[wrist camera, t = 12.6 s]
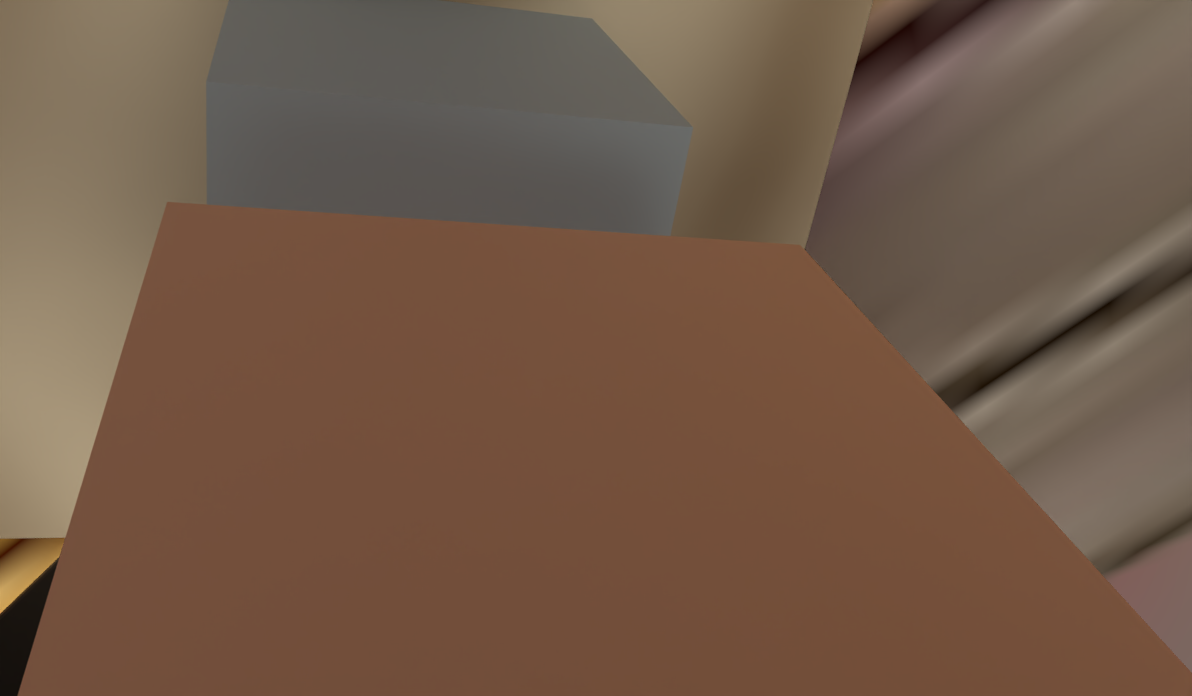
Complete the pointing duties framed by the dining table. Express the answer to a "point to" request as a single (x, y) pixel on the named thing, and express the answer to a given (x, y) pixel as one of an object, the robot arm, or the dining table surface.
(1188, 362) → the dining table surface
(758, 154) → the birch base
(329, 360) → the terracotta block
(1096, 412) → the dining table surface
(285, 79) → the gray block
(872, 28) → the dining table surface
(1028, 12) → the dining table surface
